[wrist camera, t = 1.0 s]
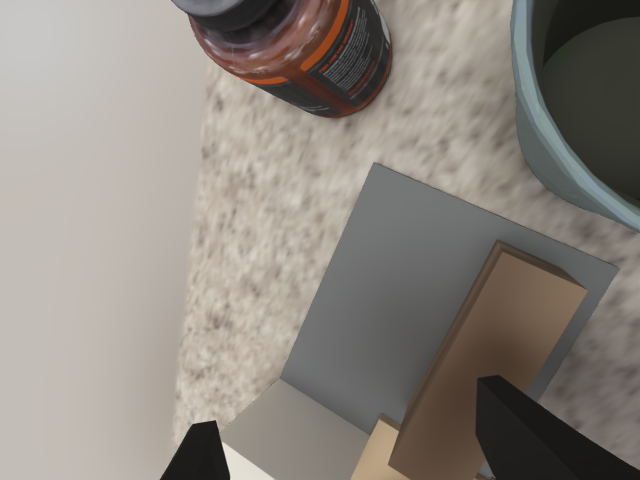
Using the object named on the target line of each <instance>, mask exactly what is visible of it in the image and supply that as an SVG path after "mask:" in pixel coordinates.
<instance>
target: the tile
mask: <svg viewBox="0 0 640 480" xmlns="http://www.w3.org/2000/svg"><path fill="white" fill-rule="evenodd" d="M219 434H220V438H221V442H222V446H223V449H224V453H225V457H226V461H227V465H228V468H229V472H230V480H351V477H352V475H353V473H354V471H355V469H356V466H357V464H358V462H359V460H360V457H361V455H362V453H363V451H364V449H365V446H366V444H367V442H368V440H369V438H370V435H368V434H367V433H365V432H364V431H362V430H360V429H359V428H357V427H356V426H354V425H353V424H351V423H349V422H348V421H346V420H345V419H343V418H341V417H340V416H338V415H337V414H335V413H334V412H332V411H330V410H329V409H327V408H326V407H324V406H323V405H321V404H319V403H318V402H316V401H315V400H313V399H311V398H310V397H308V396H307V395H305V394H304V393H302V392H300V391H299V390H297V389H296V388H294V387H293V386H291V385H289V384H288V383H286V382H285V381H283V380H281V379H280V378H279V379H278V380H277V381H276V382H275V383H274V384H272V385H271V386H270V387H269V388H268V389H267V390H266V391H265V392H264V393H262V394H261V395H260V396H259V397H258V398H257V399H256V400H255V401H254V402H253V403H251V404H250V405H249V406H248V407H247V408H246V409H245V410H244V411H243V412H242V413H240V414H239V415H238V416H237V417H236V418H235V419H234V420H233V421H232V422H231V423H229V424H228V425H227V426H226V427H225V428H224V429H223V430H222V431H221V432H219Z"/></svg>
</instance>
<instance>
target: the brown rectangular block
mask: <svg viewBox="0 0 640 480" xmlns="http://www.w3.org/2000/svg"><path fill="white" fill-rule="evenodd" d="M587 292H588V290H587V289H586V288H585V287H584V286H582V285H581V284H580V283H579V282H578V281H576V280H575V279H574V278H573V277H572V276H570V275H569V274H568V273H567V272H566V271H565V270H563V269H562V268H561V267H558V266H556V265H554V264H552V263H549V262H547V261H545V260H543V259H540V258H538V257H536V256H534V255H531V254H529V253H527V252H525V251H522V250H520V249H518V248H516V247H513V246H511V245H509V244H507V243H505V242H502V241H500V240H498V239H497V240H496V242H495V244H494V246H493V247H492V249H491V251H490V253H489V255H488V257H487V259H486V261H485V262H484V264H483V266H482V268H481V270H480V272H479V274H478V276H477V277H476V279H475V281H474V283H473V285H472V287H471V289H470V291H469V293H468V294H467V296H466V298H465V300H464V302H463V304H462V306H461V308H460V309H459V311H458V313H457V315H456V317H455V319H454V321H453V323H452V324H451V326H450V328H449V330H448V332H447V334H446V336H445V338H444V340H443V341H442V343H441V345H440V347H439V349H438V351H437V353H436V355H435V356H434V358H433V360H432V362H431V364H430V366H429V368H428V370H427V371H426V373H425V375H424V377H423V379H422V381H421V383H420V385H419V387H418V388H417V390H416V392H415V394H414V396H413V398H412V400H411V402H410V403H409V405H408V407H407V409H406V412H405V415H404V418H403V421H402V424H401V427H400V430H399V433H398V436H397V439H396V442H395V445H394V448H393V450H392V453H391V456H390V459H389V462H388V466H390V467H391V468H393V469H395V470H396V471H398V472H399V473H401V474H402V475H404V476H405V477H407V478H408V479H410V480H474V478H475V476H476V475H477V473H478V471H479V470H480V468H481V466H482V465H483V463H484V461H485V460H486V458H485V456H484V453H483V451H482V449H481V446H480V444H479V442H478V439H477V437H476V435H475V426H476V397H477V378H480V377H486V376H492V375H500V376H501V377H503V378H504V379H505V380H507V381H508V382H510V383H511V384H512V385H514V386H515V387H516V388H518V389H519V390H520V391H522V392H523V393H524V394H526V392H527V391H528V389H529V387H530V386H531V384H532V382H533V381H534V379H535V377H536V376H537V374H538V372H539V371H540V369H541V368H542V366H543V364H544V363H545V361H546V359H547V358H548V356H549V354H550V353H551V351H552V349H553V348H554V346H555V344H556V343H557V341H558V339H559V338H560V336H561V335H562V333H563V331H564V330H565V328H566V326H567V325H568V323H569V321H570V320H571V318H572V316H573V315H574V313H575V311H576V310H577V308H578V307H579V305H580V303H581V302H582V300H583V298H584V297H585V295H586V293H587Z"/></svg>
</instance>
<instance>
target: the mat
mask: <svg viewBox="0 0 640 480" xmlns="http://www.w3.org/2000/svg"><path fill="white" fill-rule="evenodd" d="M497 239H498V240H500V241H502V242H505V243H507V244H509V245H511V246H513V247H516V248H518V249H520V250H522V251H525V252H527V253H529V254H531V255H534V256H536V257H538V258H540V259H543V260H545V261H547V262H549V263H552V264H554V265H556V266H558V267H561V268H562V269H563V270H565V271H566V272H567V273H568V274H569V275H570V276H572V277H573V278H574V279H575V280H576V281H578V282H579V283H580V284H581V285H582V286H584V287H585V288H586V289H587V290H588V292H587V293H586V295H585V297H584V298H583V300H582V302H581V303H580V305H579V307H578V308H577V310H576V311H575V313H574V315H573V316H572V318H571V320H570V321H569V323H568V325H567V326H566V328H565V330H564V331H563V333H562V335H561V336H560V338H559V339H558V341H557V343H556V344H555V346H554V348H553V349H552V351H551V353H550V354H549V356H548V358H547V359H546V361H545V363H544V364H543V366H542V368H541V369H540V371H539V372H538V374H537V376H536V377H535V379H534V381H533V382H532V384H531V386H530V387H529V389H528V391H527V392H526V395H527V396H528V397H530V398H531V399H532V400H534V401H535V402H538V400H539V399H540V397H541V395H542V394H543V392H544V391H545V389H546V387H547V386H548V384H549V382H550V381H551V379H552V378H553V376H554V374H555V373H556V371H557V369H558V368H559V366H560V365H561V363H562V361H563V360H564V358H565V357H566V355H567V353H568V352H569V350H570V348H571V347H572V345H573V344H574V342H575V340H576V339H577V337H578V336H579V334H580V332H581V331H582V329H583V327H584V326H585V324H586V323H587V321H588V319H589V318H590V316H591V314H592V313H593V311H594V310H595V308H596V306H597V305H598V303H599V302H600V300H601V298H602V297H603V295H604V293H605V292H606V290H607V289H608V287H609V285H610V284H611V282H612V280H613V279H614V277H615V276H616V274H617V272H618V271H619V269H620V268H618V267H616V266H613V265H611V264H609V263H606V262H604V261H602V260H599V259H597V258H595V257H592V256H590V255H588V254H585V253H583V252H581V251H579V250H576V249H574V248H572V247H569V246H567V245H565V244H562V243H560V242H558V241H555V240H553V239H551V238H548V237H546V236H544V235H541V234H539V233H537V232H534V231H532V230H530V229H527V228H525V227H523V226H520V225H518V224H516V223H513V222H511V221H509V220H506V219H504V218H502V217H499V216H497V215H495V214H492V213H490V212H488V211H486V210H483V209H481V208H479V207H476V206H474V205H472V204H469V203H467V202H465V201H462V200H460V199H458V198H455V197H453V196H451V195H448V194H446V193H444V192H441V191H439V190H437V189H434V188H432V187H430V186H427V185H425V184H423V183H420V182H418V181H416V180H413V179H411V178H409V177H406V176H404V175H402V174H400V173H397V172H395V171H393V170H390V169H388V168H386V167H383V166H381V165H379V164H376V163H374V162H373V165H372V167H371V169H370V171H369V174H368V176H367V178H366V181H365V183H364V185H363V188H362V190H361V192H360V194H359V197H358V199H357V201H356V204H355V206H354V208H353V210H352V213H351V215H350V217H349V220H348V222H347V224H346V226H345V229H344V231H343V233H342V236H341V238H340V240H339V243H338V245H337V247H336V249H335V252H334V254H333V256H332V259H331V261H330V263H329V265H328V268H327V270H326V272H325V275H324V277H323V279H322V282H321V284H320V286H319V288H318V291H317V293H316V295H315V298H314V300H313V302H312V304H311V307H310V309H309V311H308V314H307V316H306V318H305V321H304V323H303V325H302V327H301V330H300V332H299V334H298V337H297V339H296V341H295V343H294V346H293V348H292V350H291V353H290V355H289V357H288V360H287V362H286V364H285V366H284V369H283V371H282V373H281V376H280V379H281V380H283V381H285V382H286V383H288V384H289V385H291V386H293V387H294V388H296V389H297V390H299V391H300V392H302V393H304V394H305V395H307V396H308V397H310V398H311V399H313V400H315V401H316V402H318V403H319V404H321V405H323V406H324V407H326V408H327V409H329V410H330V411H332V412H334V413H335V414H337V415H338V416H340V417H341V418H343V419H345V420H346V421H348V422H349V423H351V424H353V425H354V426H356V427H357V428H359V429H360V430H362V431H364V432H365V433H367V434H368V435H371V434H372V432H373V430H374V428H375V426H376V424H377V422H378V420H379V418H380V416H381V414H383V415H384V416H386V417H388V418H389V419H391V420H393V421H394V422H396V423H397V424H399V425H401V424H402V421H403V418H404V415H405V412H406V409H407V407H408V405H409V403H410V402H411V400H412V398H413V396H414V394H415V392H416V390H417V388H418V387H419V385H420V383H421V381H422V379H423V377H424V375H425V373H426V371H427V370H428V368H429V366H430V364H431V362H432V360H433V358H434V356H435V355H436V353H437V351H438V349H439V347H440V345H441V343H442V341H443V340H444V338H445V336H446V334H447V332H448V330H449V328H450V326H451V324H452V323H453V321H454V319H455V317H456V315H457V313H458V311H459V309H460V308H461V306H462V304H463V302H464V300H465V298H466V296H467V294H468V293H469V291H470V289H471V287H472V285H473V283H474V281H475V279H476V277H477V276H478V274H479V272H480V270H481V268H482V266H483V264H484V262H485V261H486V259H487V257H488V255H489V253H490V251H491V249H492V247H493V246H494V244H495V242H496V240H497ZM478 473H479V474H481V475H482V476H484V477H486V478H487V479H489V480H490V478H491V476H492V475H493V473H492V471H491V469H490V467H489V464H488V462H487V460H485V461H484V463H483V465H482V466H481V468H480V470H479V471H478Z"/></svg>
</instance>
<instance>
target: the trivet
mask: <svg viewBox="0 0 640 480" xmlns="http://www.w3.org/2000/svg"><path fill="white" fill-rule="evenodd" d="M400 427H401V425H399V424H397V423H396V422H394V421H393V420H391V419H389V418H388V417H386V416H384V415H383V414H381V416H380V418H379V420H378V422H377V424H376V426H375V428H374V430H373V432H372V434H371V435H370V438H369V440H368V442H367V444H366V446H365V449H364V451H363V453H362V455H361V457H360V460H359V462H358V464H357V466H356V469H355V471H354V473H353V475H352V477H351V480H410V479H408V478H407V477H405V476H404V475H402V474H401V473H399V472H398V471H396V470H395V469H393V468H391V467H390V466H388V462H389V459H390V456H391V453H392V450H393V448H394V445H395V442H396V439H397V436H398V433H399V430H400ZM474 480H489V479H487V478H486V477H484V476H482V475H481V474H479V473H477V475H476V476H475V478H474ZM490 480H495V479H493V478H492V477H491V478H490Z"/></svg>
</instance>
